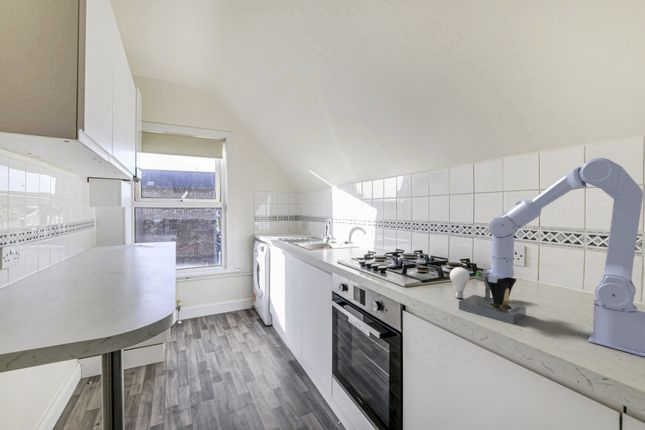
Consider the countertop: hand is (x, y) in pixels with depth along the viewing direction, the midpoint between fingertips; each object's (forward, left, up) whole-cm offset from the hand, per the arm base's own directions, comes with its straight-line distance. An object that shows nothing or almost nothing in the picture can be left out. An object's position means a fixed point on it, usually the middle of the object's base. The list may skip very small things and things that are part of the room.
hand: (500, 302), depth 87 cm
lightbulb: (+15, -6, -4) cm, 16 cm away
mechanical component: (+9, -14, -4) cm, 17 cm away
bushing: (0, 0, -1) cm, 1 cm away
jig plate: (+3, 0, -4) cm, 4 cm away
